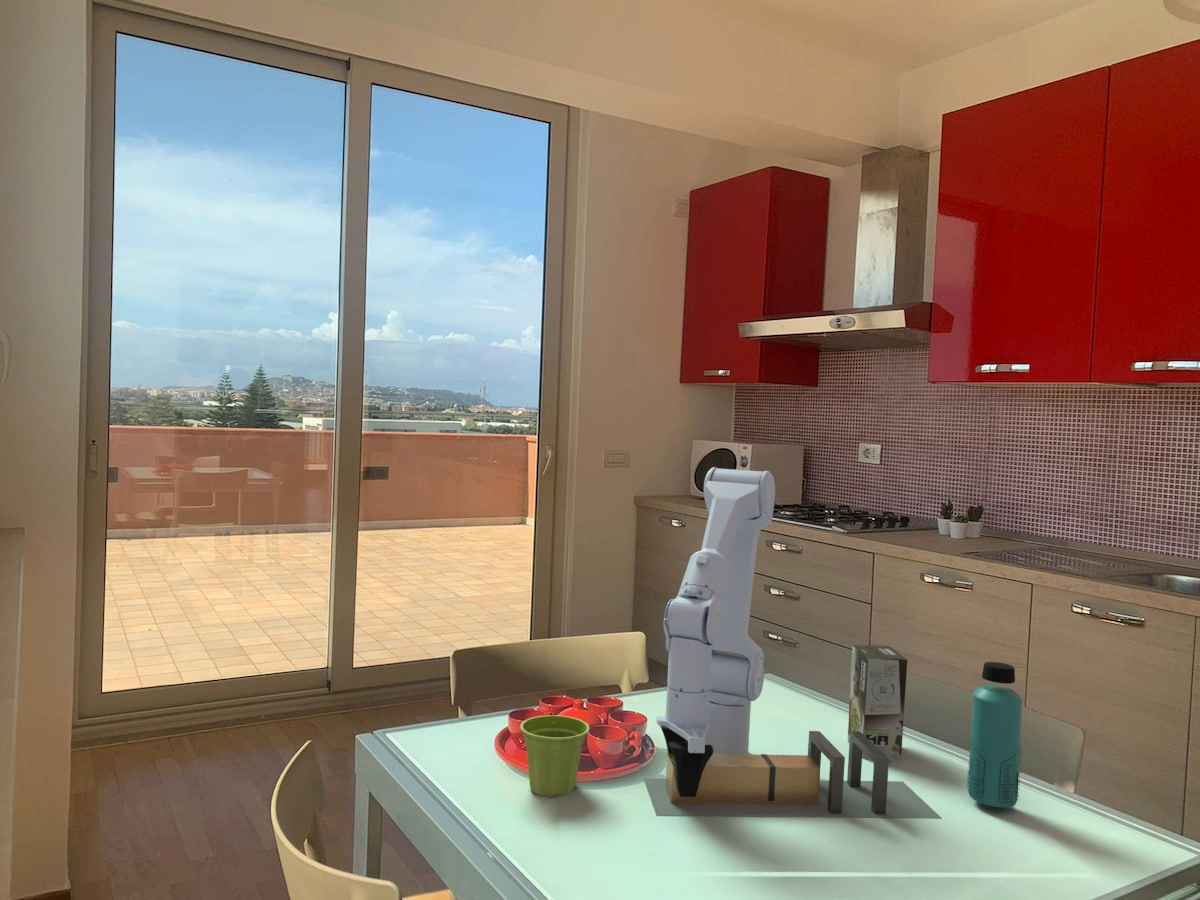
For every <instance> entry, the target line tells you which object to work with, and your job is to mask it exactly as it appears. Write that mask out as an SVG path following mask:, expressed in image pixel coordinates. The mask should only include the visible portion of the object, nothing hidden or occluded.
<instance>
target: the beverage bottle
mask: <svg viewBox="0 0 1200 900" xmlns="http://www.w3.org/2000/svg"><path fill="white" fill-rule="evenodd" d="M1015 674H1016V671H1015V667H1014V666H1013V665H1011V664H1008V663H1005V662H998V661H986V662H984V663H983V669H982V673H981V678H982V679H983V680H986V681H989V682H991V683H992V682H993V683H997V684H1006V685H1007V684H1014V683H1015V682H1016V677H1015V676H1016V675H1015ZM997 684H983V685H982V686H979V687H978V688H977V689H975V690H974V691H973V693H972V715H971V728H970V739H969V746H968V748H969V756H968V757H969V761H968V762H967V765H968V771H967V774H968V777H967V783H966V785H967V792H968V795H969V798H971V799H973V800H974V801H976V802H977V803H981V804H983V805H986V806H989V807H996V808H1011V807H1014V806H1016V805H1017V802H1018V799H1019V797H1020V796H1019V790H1020V787H1019V786H1020V783H1021V781H1020V780H1021V779H1020V774H1021V771H1020V767H1021V763H1022V762H1021V761H1022V760H1021V758H1022V751H1021V749H1022V743H1021V739H1022V734H1021V732H1022V711H1023V699H1022V698H1021V696H1020V695H1019V694H1018V692H1016V691H1015V690H1014V689H1013V688H1010V687H1007V686H1002V685H997Z"/></svg>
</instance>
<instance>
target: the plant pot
mask: <svg viewBox="0 0 1200 900" xmlns="http://www.w3.org/2000/svg"><path fill="white" fill-rule="evenodd" d="M519 729H520V731H521V732H522V733H523V740H524V742H525V746H526V747H525V748H526V757H527V768H528V780H529V788H530V789H531V791H532V793H534V794H536V795H539V796H543V797H547V798H549V797H550V798H552V797H554V796H563V795H568V794H569V793H572V792H574V790H575V789H576V784H577V776H578V771H579V766H580V760H581V753H582V749H583V744H584V742H585V740H586V736H587V734H588V733H589V731H590V726H589V724H588V723H587V722H585V721H583V720H582V719H580V718H577V717H572V716H568V715H561V714H559V715H558V714H557V715H556V714H555V715H553V714H552V715H551V714H547V715H539V716H533V717H530V718H527V719H525V720H523V721H522V722H521V723H520V727H519Z"/></svg>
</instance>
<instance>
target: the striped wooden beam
mask: <svg viewBox="0 0 1200 900" xmlns="http://www.w3.org/2000/svg"><path fill="white" fill-rule="evenodd" d="M665 767H666V769H665V770H666V771H665V772H666V773H665V778H666V785H665V790H666V792H667V795H668V797H669V800H670V802H671V803H694V804H792V805H818V797H819V780H820V779H821V766H820V767H819V766H818V765H817V764H816V763H815V761H814V760H813V759H812V758H811V757H810V756H809V755H808V754H807V755H806V754H805V755H804V754H803V755H802V754H800V755H799V754H766V753H765V754H764V753H761V754H752V753H750V754H712V756H711V757H710V759H709V760H708V762H707V764H706V766H705V768H704V770H703V773H702V776H701V780H700V783H699V787H698V790H697V793H696V796H695V797H680V795H679V791H678V785H677V773H676V765H675V760H674V756H673V753H668V752H667V753H666V766H665Z"/></svg>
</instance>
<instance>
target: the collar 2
mask: <svg viewBox="0 0 1200 900" xmlns="http://www.w3.org/2000/svg"><path fill="white" fill-rule="evenodd" d="M848 743H849V744H848V745H849V746H848V760H847V761H848V762H847V779H846V781H847V784H848V785H849V786H850V787H860V785H861V781H862V780H861V779H862V764H863V758H862V751H863V752H864V753H865V754H866V755H867V756H868V757H869V758H870V759H869V760H871V761H872V762H873V770H872V771H873V775H872V781H873V786H872V803H871V811H872V812H873V813H874V814H886V800H887V783H888V781H889V778H888V777H889V765H890V763H889V762H890V760H889V757H887V756H886V755H885V754H884V753H883V752H882V751H881V750H880V749H879V748H877V747H876V746H875V745H874V744H873V743H872V742H871V741H870V740H869V739H868V738H866V737H865V736H864V735H863V734H862V733H861V732H850V741H849V742H848Z"/></svg>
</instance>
